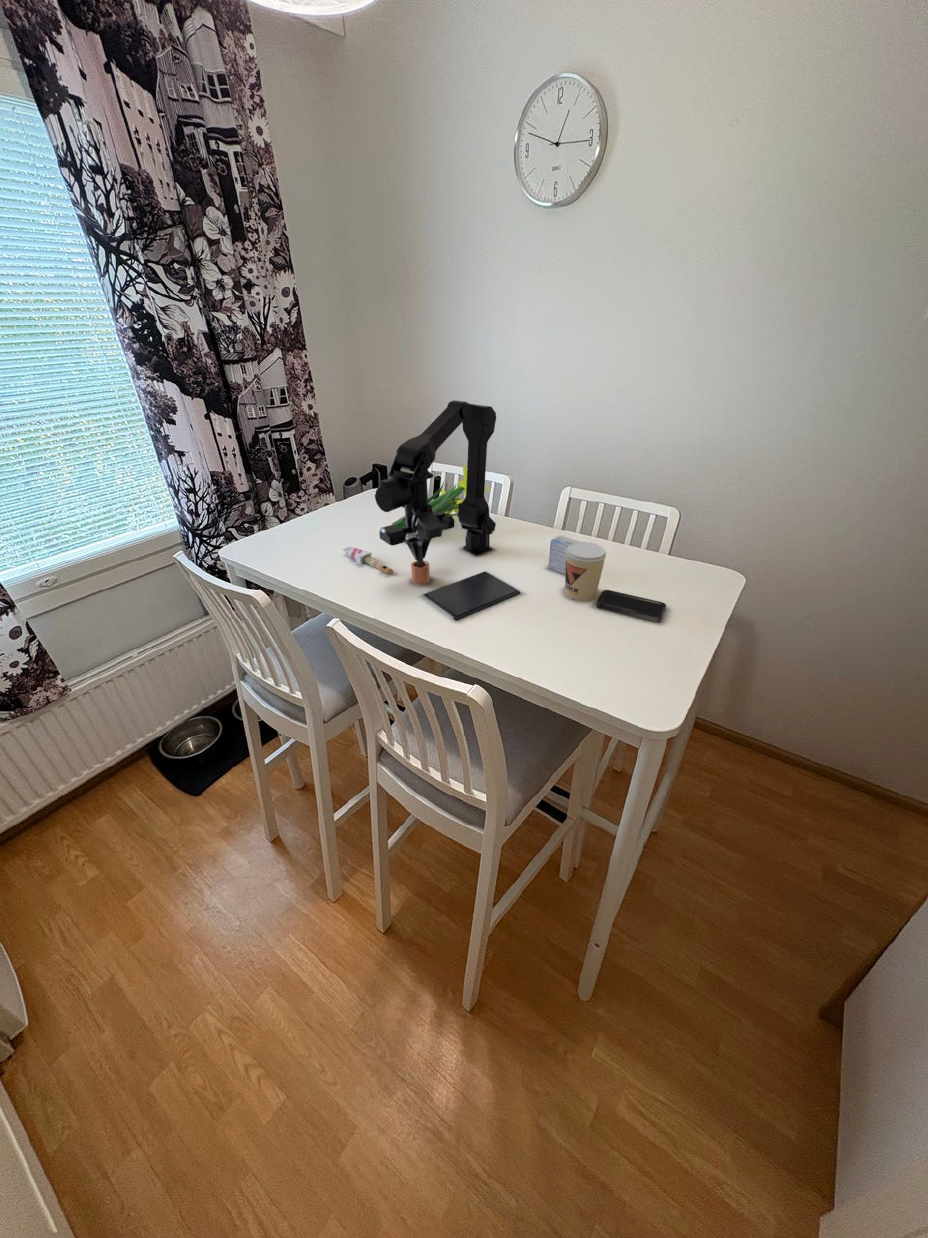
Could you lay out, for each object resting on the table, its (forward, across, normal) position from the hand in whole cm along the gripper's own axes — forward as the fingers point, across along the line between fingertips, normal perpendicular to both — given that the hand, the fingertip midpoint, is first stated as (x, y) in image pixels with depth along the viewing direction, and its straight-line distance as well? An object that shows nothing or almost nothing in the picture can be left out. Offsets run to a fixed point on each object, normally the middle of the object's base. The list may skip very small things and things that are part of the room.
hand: (419, 559), depth 125 cm
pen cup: (+6, 0, 0) cm, 6 cm away
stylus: (+6, 0, 0) cm, 6 cm away
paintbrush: (+7, -6, +18) cm, 20 cm away
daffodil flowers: (+7, +24, +26) cm, 36 cm away
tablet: (+6, +6, -14) cm, 17 cm away
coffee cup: (+7, +28, -30) cm, 42 cm away
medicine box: (+7, +34, -19) cm, 40 cm away
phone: (+6, +32, -42) cm, 53 cm away
